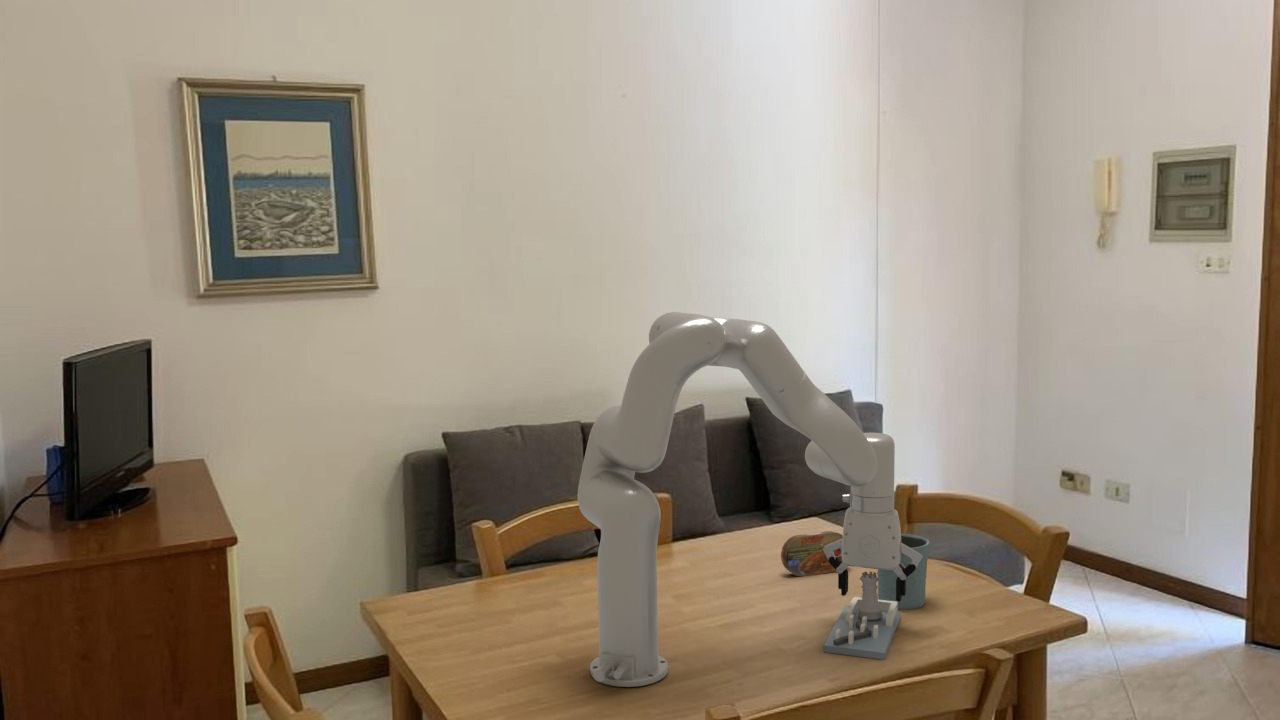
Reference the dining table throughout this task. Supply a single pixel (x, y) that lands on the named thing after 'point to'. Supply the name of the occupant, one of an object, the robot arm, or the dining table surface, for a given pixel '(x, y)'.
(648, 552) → the robot arm
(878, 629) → the board
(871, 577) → the rook chess piece
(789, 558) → the tin
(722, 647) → the dining table surface
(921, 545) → the teal cup
